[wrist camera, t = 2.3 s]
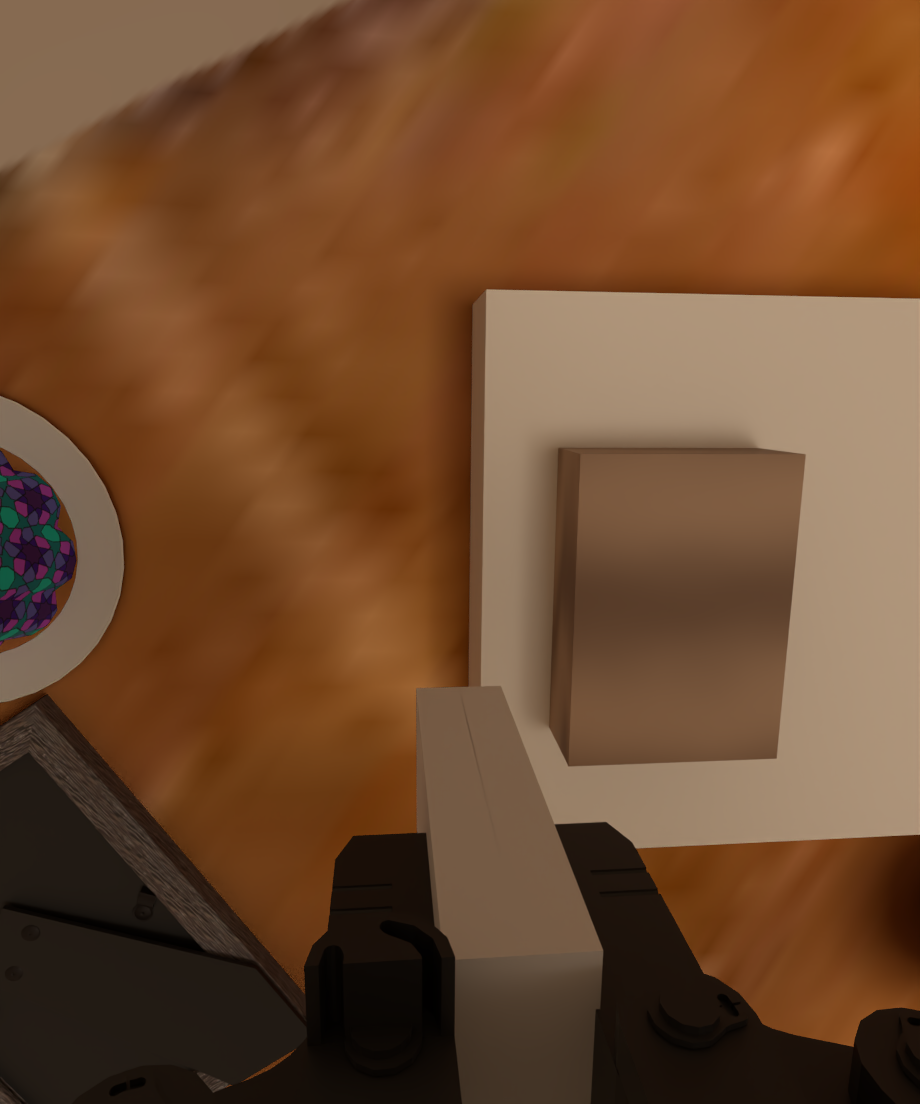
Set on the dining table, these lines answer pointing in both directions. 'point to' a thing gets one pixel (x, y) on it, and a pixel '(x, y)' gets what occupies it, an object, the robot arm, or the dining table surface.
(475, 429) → the cream flat block
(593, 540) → the walnut block
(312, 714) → the dining table surface
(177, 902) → the picture frame
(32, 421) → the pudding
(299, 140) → the dining table surface
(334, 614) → the dining table surface
